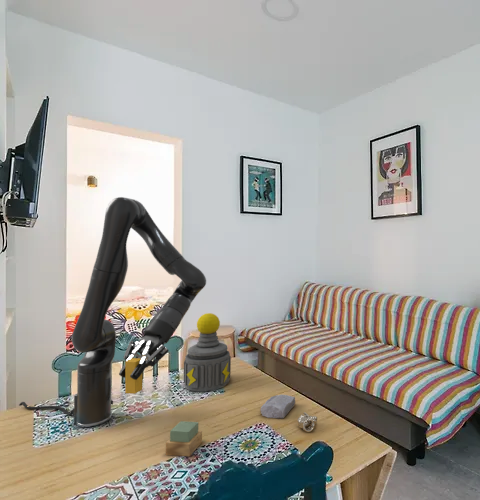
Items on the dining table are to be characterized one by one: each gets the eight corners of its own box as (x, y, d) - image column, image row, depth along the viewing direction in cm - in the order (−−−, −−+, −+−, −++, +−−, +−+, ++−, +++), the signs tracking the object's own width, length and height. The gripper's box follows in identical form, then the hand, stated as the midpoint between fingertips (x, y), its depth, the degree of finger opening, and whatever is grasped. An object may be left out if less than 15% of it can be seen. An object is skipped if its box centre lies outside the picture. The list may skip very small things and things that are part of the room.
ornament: (322, 429, 113) (322, 418, 113) (302, 435, 110) (302, 423, 110) (312, 418, 120) (312, 408, 120) (293, 423, 117) (293, 412, 117)
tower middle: (169, 441, 99) (169, 430, 99) (180, 431, 104) (180, 421, 104) (188, 442, 98) (188, 431, 98) (198, 432, 104) (198, 422, 104)
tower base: (165, 455, 98) (165, 442, 98) (179, 441, 105) (179, 429, 105) (189, 456, 98) (189, 444, 98) (202, 442, 105) (202, 430, 105)
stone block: (258, 421, 121) (285, 419, 119) (256, 407, 121) (283, 404, 119) (273, 407, 132) (297, 404, 130) (271, 394, 133) (295, 392, 131)
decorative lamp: (239, 378, 154) (241, 311, 154) (210, 395, 137) (211, 319, 136) (204, 373, 160) (205, 308, 160) (172, 388, 142) (173, 315, 142)
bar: (125, 393, 98) (125, 361, 98) (132, 389, 101) (132, 358, 101) (135, 393, 98) (135, 361, 98) (142, 389, 101) (142, 358, 101)
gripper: (139, 315, 108) (99, 367, 97) (175, 319, 104) (137, 374, 92) (154, 329, 114) (118, 379, 102) (188, 333, 109) (154, 387, 97)
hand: (127, 377), depth 97 cm, fingers closed on bar, 3 cm apart
